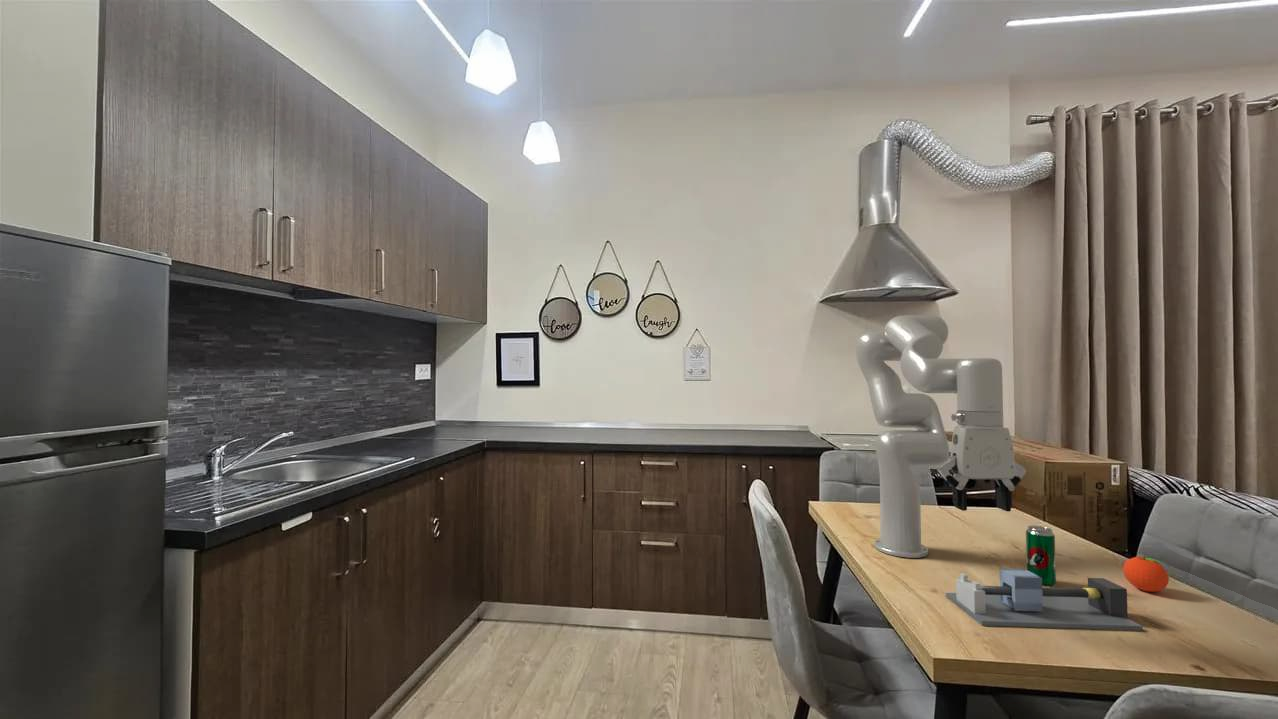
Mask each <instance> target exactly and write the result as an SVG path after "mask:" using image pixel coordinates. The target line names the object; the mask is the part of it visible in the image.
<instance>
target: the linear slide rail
mask: <svg viewBox="0 0 1278 719" xmlns="http://www.w3.org/2000/svg"><path fill="white" fill-rule="evenodd" d="M959 574H960V577H959V578H957V577H956V578H955V582H956V583H955V586H956V592H945V597H946V598H947V599H948V600H950V602H952V603H953V604H955V605H956V606H957V607H958V608H960V610H962V611H963V612H964V613H966V614H967V615H969V617H971V619H973V620H974V621H976V622H977V623H978V624H979V625H981V626H983V627H984V626H987V627H988V626H990V627H993V626H994V627H1013V628H1014V627H1016V628H1017V627H1021V628H1044V629H1045V628H1049V629H1050V628H1051V629H1052V628H1053V629H1076V630H1077V629H1080V630H1105V631H1106V630H1108V631H1109V630H1110V631H1111V630H1112V631H1135V632H1136V631H1137V632H1139V631H1142V632H1143V629H1144V628H1143V625H1141V624H1139V623H1137V622H1135V621H1134V620H1132V619H1130V618H1129V617H1128V616H1129V615H1128V613H1129V612H1128V589H1127V588H1125V587H1123V586H1121V585H1119V584H1117V583H1114V582H1113V581H1110V580H1108V579H1106V578H1104V577H1103V578H1102V577H1087V587H1082V588H1080V587H1079V588H1077V587H1076V588H1075V587H1072V588H1071V587H1048V586H1045V587H1044V586H1042V597H1043V611H1015V610H1014V609H1012V608H1011V607H1009V606H1008V605H1006V604H1005V603H1004V602H1002V601H1001V600H1000V595H1012V587H1011V586H1000V585H981V584H980V582H978V581H971V580H969V578H968V574H966V573H959Z"/></svg>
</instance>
